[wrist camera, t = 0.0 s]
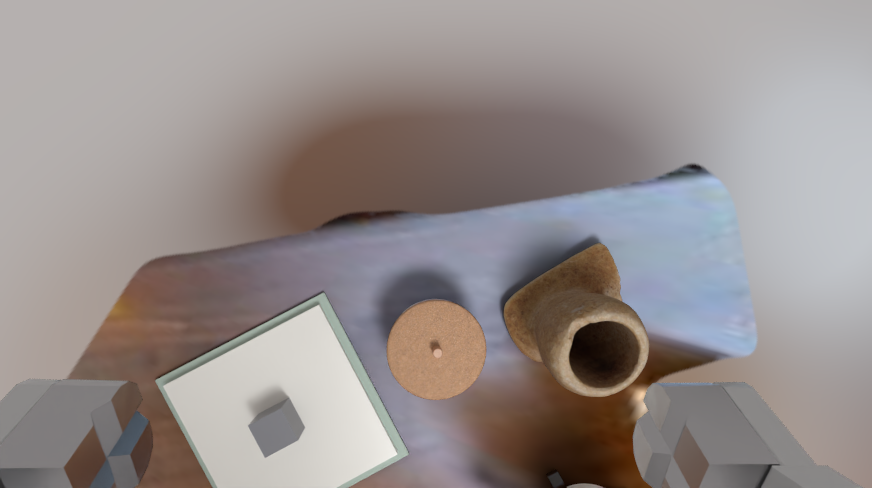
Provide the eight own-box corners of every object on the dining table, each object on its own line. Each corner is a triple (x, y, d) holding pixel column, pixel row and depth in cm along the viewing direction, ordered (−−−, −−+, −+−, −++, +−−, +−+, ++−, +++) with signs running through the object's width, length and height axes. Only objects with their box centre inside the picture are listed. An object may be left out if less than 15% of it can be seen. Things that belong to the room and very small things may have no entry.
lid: (397, 451, 62) (397, 468, 57) (247, 532, 61) (232, 558, 56) (320, 303, 61) (312, 308, 56) (166, 383, 60) (145, 396, 55)
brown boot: (536, 384, 64) (577, 427, 49) (489, 300, 63) (515, 317, 48) (640, 323, 64) (712, 346, 49) (594, 240, 64) (652, 238, 49)
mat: (409, 452, 63) (409, 454, 62) (244, 542, 61) (243, 544, 61) (324, 292, 62) (323, 292, 62) (157, 379, 61) (154, 380, 60)
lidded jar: (370, 338, 62) (364, 355, 53) (432, 275, 63) (436, 280, 53) (433, 399, 63) (438, 426, 53) (494, 336, 63) (510, 351, 54)
